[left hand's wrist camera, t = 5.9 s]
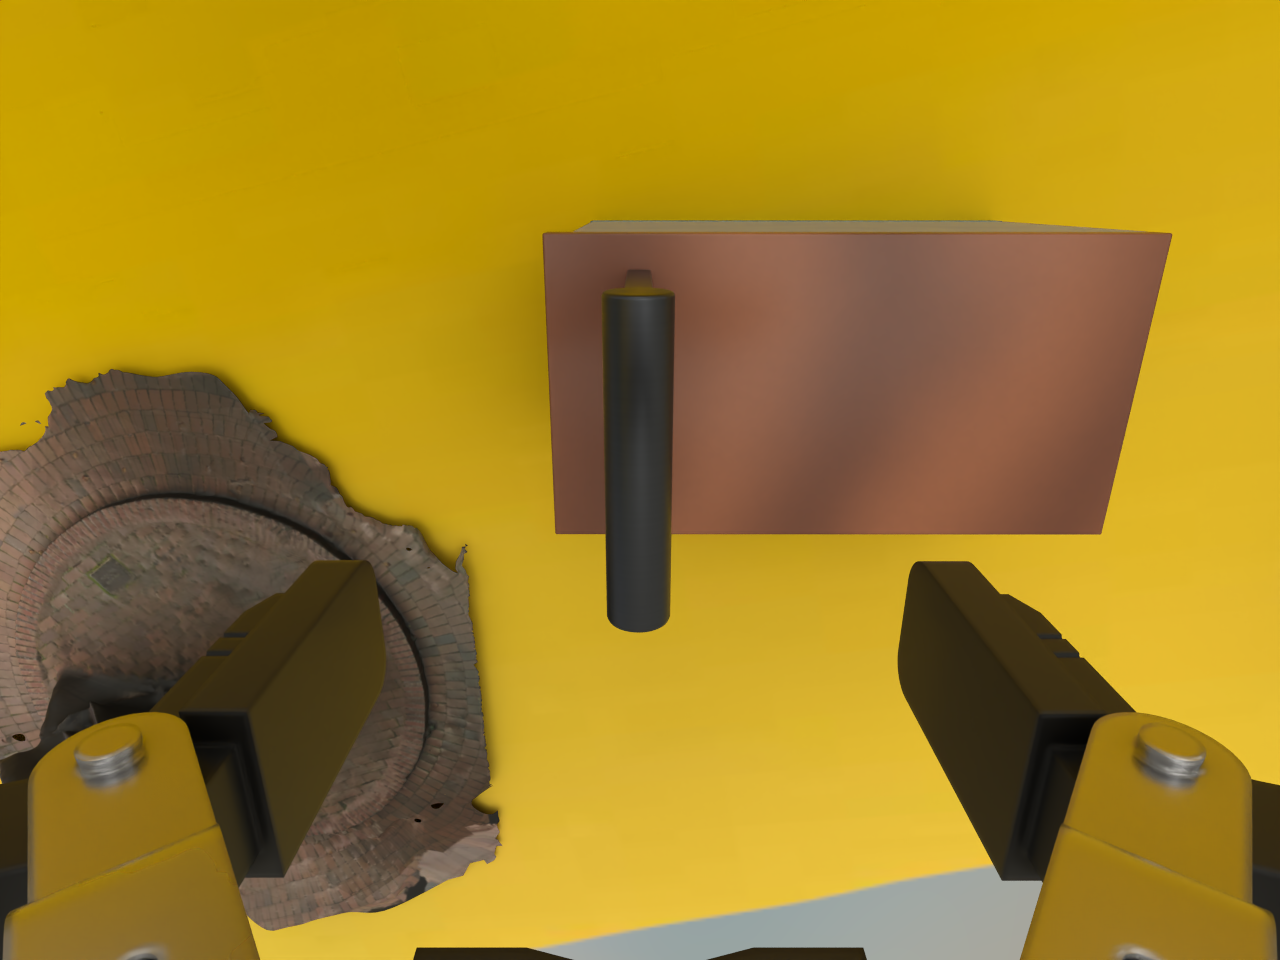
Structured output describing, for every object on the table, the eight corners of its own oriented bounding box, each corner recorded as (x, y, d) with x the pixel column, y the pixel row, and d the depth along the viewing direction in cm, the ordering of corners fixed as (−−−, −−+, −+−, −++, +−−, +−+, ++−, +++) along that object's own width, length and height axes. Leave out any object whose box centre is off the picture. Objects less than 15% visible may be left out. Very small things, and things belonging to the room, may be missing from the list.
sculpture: (606, 472, 37) (584, 659, 22) (470, 960, 49) (395, 1296, 34) (-105, 287, 34) (-695, 358, 19) (-65, 856, 46) (-407, 1177, 31)
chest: (596, 431, 36) (578, 523, 26) (591, 220, 33) (569, 231, 23) (961, 432, 36) (1086, 523, 26) (994, 220, 33) (1152, 231, 23)
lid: (558, 523, 26) (522, 665, 18) (545, 231, 23) (495, 250, 15) (1086, 523, 26) (1279, 665, 18) (1153, 231, 23) (1425, 250, 15)
